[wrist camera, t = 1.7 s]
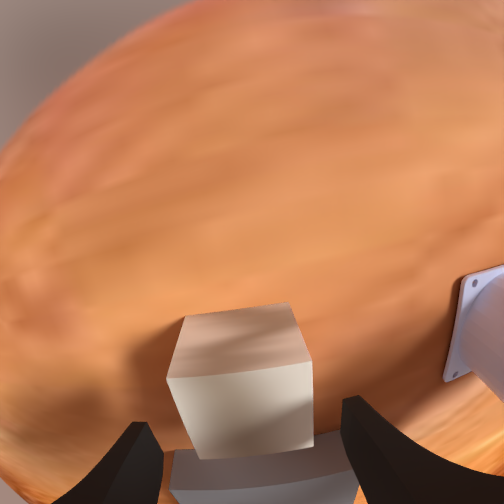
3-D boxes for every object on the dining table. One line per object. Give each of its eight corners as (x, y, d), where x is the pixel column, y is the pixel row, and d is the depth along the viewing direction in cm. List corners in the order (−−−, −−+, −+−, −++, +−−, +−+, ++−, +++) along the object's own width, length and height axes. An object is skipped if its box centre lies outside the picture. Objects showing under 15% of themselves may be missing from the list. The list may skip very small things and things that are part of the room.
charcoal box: (347, 423, 17) (364, 465, 13) (336, 494, 20) (345, 525, 17) (175, 445, 17) (168, 489, 13) (213, 510, 20) (212, 542, 16)
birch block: (288, 301, 14) (312, 360, 9) (294, 379, 16) (313, 446, 11) (185, 315, 14) (166, 378, 9) (206, 391, 15) (199, 459, 11)
